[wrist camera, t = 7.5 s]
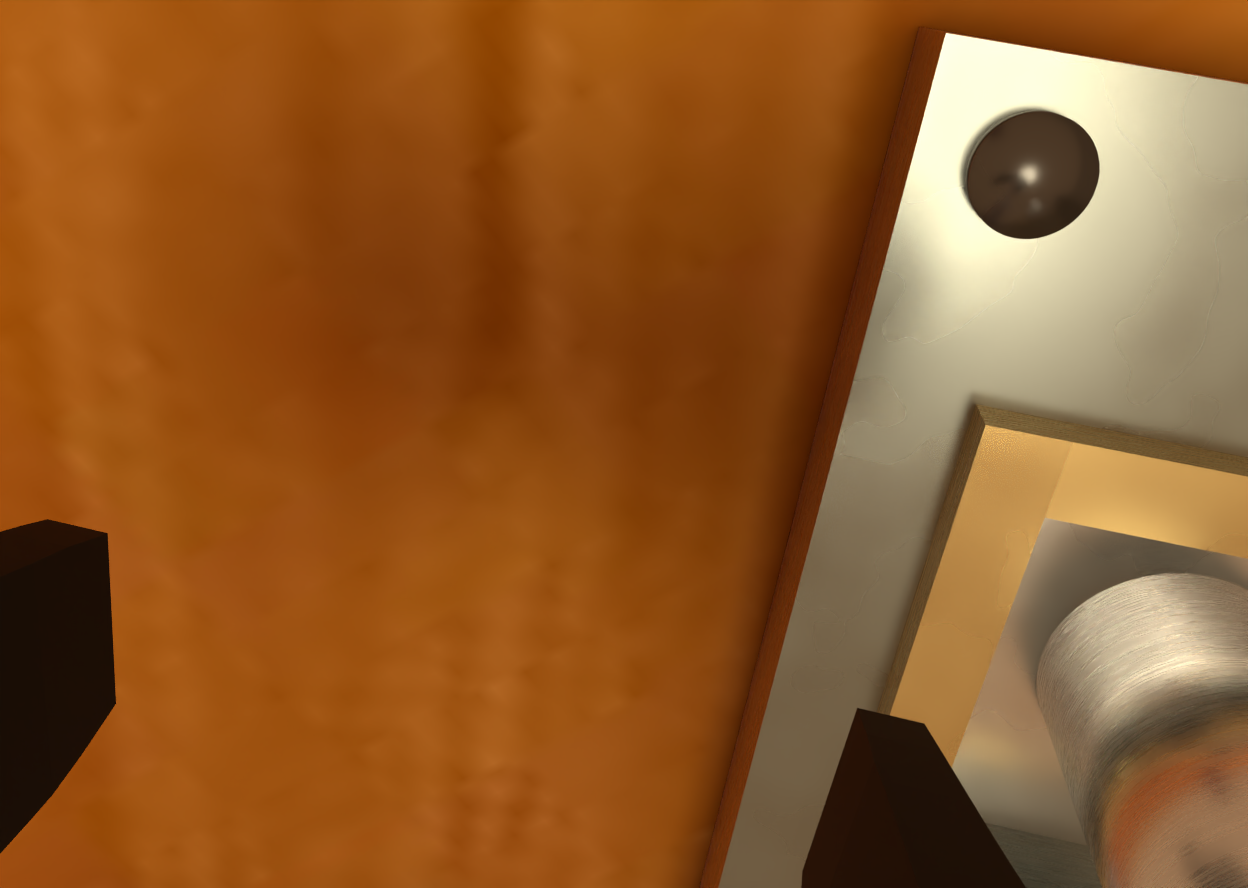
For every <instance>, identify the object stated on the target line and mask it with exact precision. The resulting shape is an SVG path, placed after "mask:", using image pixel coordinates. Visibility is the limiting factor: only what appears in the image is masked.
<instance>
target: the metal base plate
mask: <svg viewBox="0 0 1248 888" xmlns="http://www.w3.org/2000/svg"><path fill="white" fill-rule="evenodd" d="M1166 573H1189V574H1200V575H1207V576H1212V577H1216V578H1221V579H1224V580H1227V581H1230V582H1233V583H1236V584H1238V585H1240V586H1242V587H1244V588H1247V589H1248V83H1247V82H1241V81H1235V80H1229V79H1223V78H1217V77H1211V76H1206V75H1200V74H1194V73H1188V72H1182V71H1176V70H1170V69H1165V68H1159V67H1153V66H1147V65H1141V64H1135V63H1129V62H1124V61H1118V60H1112V59H1106V58H1100V57H1094V56H1088V55H1083V54H1077V53H1071V52H1065V51H1059V50H1053V49H1047V48H1041V47H1036V46H1030V45H1024V44H1018V43H1012V42H1006V41H1000V40H995V39H989V38H983V37H977V36H971V35H965V34H959V33H954V32H948V31H942V30H936V29H930V28H924V27H919V28H918V32H917V36H916V40H915V44H914V47H913V51H912V55H911V59H910V63H909V67H908V71H907V75H906V79H905V83H904V87H903V91H902V95H901V98H900V102H899V106H898V110H897V114H896V118H895V122H894V126H893V130H892V134H891V138H890V142H889V145H888V149H887V153H886V157H885V161H884V165H883V169H882V173H881V177H880V181H879V185H878V189H877V192H876V196H875V200H874V204H873V208H872V212H871V216H870V220H869V224H868V228H867V232H866V236H865V239H864V243H863V247H862V251H861V255H860V259H859V263H858V267H857V271H856V275H855V279H854V283H853V287H852V290H851V294H850V298H849V302H848V306H847V310H846V314H845V318H844V322H843V326H842V330H841V334H840V337H839V341H838V345H837V349H836V353H835V357H834V361H833V365H832V369H831V373H830V377H829V381H828V384H827V388H826V392H825V396H824V400H823V404H822V408H821V412H820V416H819V420H818V424H817V428H816V431H815V435H814V439H813V443H812V447H811V451H810V455H809V459H808V463H807V467H806V471H805V475H804V478H803V482H802V486H801V490H800V494H799V498H798V502H797V506H796V510H795V514H794V518H793V522H792V526H791V529H790V533H789V537H788V541H787V545H786V549H785V553H784V557H783V561H782V565H781V569H780V573H779V576H778V580H777V584H776V588H775V592H774V596H773V600H772V604H771V608H770V612H769V616H768V620H767V623H766V627H765V631H764V635H763V639H762V643H761V647H760V651H759V655H758V659H757V663H756V667H755V670H754V674H753V678H752V682H751V686H750V690H749V694H748V698H747V702H746V706H745V710H744V714H743V718H742V721H741V725H740V729H739V733H738V737H737V741H736V745H735V749H734V753H733V757H732V761H731V765H730V768H729V772H728V776H727V780H726V784H725V788H724V792H723V796H722V800H721V804H720V808H719V812H718V815H717V819H716V823H715V827H714V831H713V835H712V839H711V843H710V847H709V851H708V855H707V859H706V862H705V866H704V870H703V874H702V878H701V882H700V886H699V888H801V885H802V870H803V867H804V865H805V862H806V859H807V856H808V853H809V850H810V847H811V844H812V841H813V838H814V835H815V832H816V829H817V826H818V823H819V820H820V817H821V814H822V811H823V808H824V805H825V802H826V799H827V796H828V793H829V790H830V787H831V784H832V781H833V778H834V775H835V772H836V769H837V766H838V763H839V760H840V758H841V755H842V752H843V749H844V746H845V743H846V740H847V737H848V734H849V731H850V728H851V725H852V722H853V719H854V716H855V713H856V710H857V708H860V709H865V710H869V711H873V712H878V713H882V714H886V715H890V716H895V717H899V718H903V719H908V720H912V721H916V722H920V723H924V724H925V725H926V727H927V729H928V730H929V732H930V733H931V735H932V737H933V738H934V740H935V742H936V743H937V745H938V746H939V748H940V750H941V751H942V753H943V754H944V756H945V758H946V759H947V761H948V763H949V764H950V766H951V768H952V769H953V771H954V772H955V774H956V776H957V777H958V779H959V781H960V782H961V784H962V786H963V787H964V789H965V791H966V792H967V794H968V796H969V797H970V799H971V800H972V802H973V804H974V805H975V807H976V809H977V810H978V812H979V814H980V815H981V817H982V818H983V820H984V822H985V823H986V825H987V827H988V828H989V830H990V831H991V833H992V835H993V836H994V838H995V839H996V841H997V843H998V844H999V846H1000V847H1001V849H1002V851H1003V852H1004V854H1005V855H1006V857H1007V859H1008V860H1009V862H1010V863H1011V865H1012V866H1013V868H1014V870H1015V871H1016V873H1017V874H1018V876H1019V877H1020V879H1021V880H1022V882H1023V883H1024V885H1025V886H1026V888H1102V887H1101V884H1100V881H1099V878H1098V875H1097V872H1096V869H1095V866H1094V863H1093V861H1092V858H1091V855H1090V852H1089V849H1088V846H1087V843H1086V840H1085V837H1084V834H1083V831H1082V829H1081V826H1080V823H1079V820H1078V817H1077V814H1076V811H1075V808H1074V805H1073V802H1072V800H1071V797H1070V794H1069V791H1068V788H1067V785H1066V782H1065V779H1064V776H1063V773H1062V771H1061V768H1060V765H1059V762H1058V759H1057V756H1056V753H1055V750H1054V747H1053V744H1052V742H1051V739H1050V736H1049V733H1048V730H1047V727H1046V724H1045V721H1044V718H1043V715H1042V713H1041V709H1040V706H1039V702H1038V699H1037V690H1036V677H1037V669H1038V665H1039V660H1040V657H1041V655H1042V652H1043V650H1044V647H1045V645H1046V644H1047V642H1048V640H1049V638H1050V636H1051V635H1052V633H1053V632H1054V631H1055V629H1056V628H1057V627H1058V625H1059V624H1060V623H1061V622H1062V621H1063V620H1064V619H1065V618H1066V617H1067V616H1068V615H1069V614H1070V613H1071V612H1072V611H1073V610H1074V609H1076V608H1077V607H1078V606H1080V605H1081V604H1082V603H1083V602H1085V601H1086V600H1088V599H1090V598H1091V597H1093V596H1095V595H1096V594H1098V593H1100V592H1102V591H1104V590H1106V589H1108V588H1110V587H1112V586H1115V585H1118V584H1120V583H1123V582H1126V581H1129V580H1132V579H1137V578H1141V577H1145V576H1150V575H1158V574H1166Z"/></svg>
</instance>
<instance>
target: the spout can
mask: <svg viewBox="0 0 1248 888" xmlns="http://www.w3.org/2000/svg"><path fill="white" fill-rule="evenodd" d="M1036 690H1037V699H1038V702H1039V706H1040V709H1041V713H1042V715H1043V718H1044V721H1045V724H1046V727H1047V730H1048V733H1049V736H1050V739H1051V742H1052V744H1053V747H1054V750H1055V753H1056V756H1057V759H1058V762H1059V765H1060V768H1061V771H1062V773H1063V776H1064V779H1065V782H1066V785H1067V788H1068V791H1069V794H1070V797H1071V800H1072V802H1073V805H1074V808H1075V811H1076V814H1077V817H1078V820H1079V823H1080V826H1081V829H1082V831H1083V834H1084V837H1085V840H1086V843H1087V846H1088V849H1089V852H1090V855H1091V858H1092V861H1093V863H1094V866H1095V869H1096V872H1097V875H1098V878H1099V881H1100V884H1101V887H1102V888H1248V589H1247V588H1244V587H1242V586H1240V585H1238V584H1236V583H1233V582H1230V581H1227V580H1224V579H1221V578H1216V577H1212V576H1207V575H1200V574H1189V573H1166V574H1158V575H1150V576H1145V577H1141V578H1137V579H1132V580H1129V581H1126V582H1123V583H1120V584H1118V585H1115V586H1112V587H1110V588H1108V589H1106V590H1104V591H1102V592H1100V593H1098V594H1096V595H1095V596H1093V597H1091V598H1090V599H1088V600H1086V601H1085V602H1083V603H1082V604H1081V605H1080V606H1078V607H1077V608H1076V609H1074V610H1073V611H1072V612H1071V613H1070V614H1069V615H1068V616H1067V617H1066V618H1065V619H1064V620H1063V621H1062V622H1061V623H1060V624H1059V625H1058V627H1057V628H1056V629H1055V631H1054V632H1053V633H1052V635H1051V636H1050V638H1049V640H1048V642H1047V644H1046V645H1045V647H1044V650H1043V652H1042V655H1041V657H1040V660H1039V665H1038V669H1037V677H1036Z"/></svg>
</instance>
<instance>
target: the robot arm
mask: <svg viewBox="0 0 1248 888" xmlns="http://www.w3.org/2000/svg"><path fill="white" fill-rule="evenodd" d="M115 704H116V696H115V675H114V655H113V635H112V614H111V594H110V574H109V553H108V533H104V532H100V531H95V530H91V529H87V528H83V527H78V526H74V525H70V524H65V523H61V522H57V521H52V520H48V519H47V520H43V521H39V522H35V523H31V524H27V525H23V526H19V527H16V528H12V529H9V530H5V531H2V532H0V853H1V852H2V851H3V850H4V849H5V848H6V847H7V845H8V844H9V843H10V842H11V841H12V840H13V839H14V838H15V837H16V835H17V834H18V833H19V832H20V831H21V830H22V829H23V828H24V827H25V825H26V824H27V823H28V822H29V821H30V820H31V819H32V818H33V816H34V815H35V814H36V813H37V812H38V811H39V810H40V808H41V807H42V806H43V805H44V804H45V803H46V802H47V800H48V799H49V798H50V797H51V796H52V795H53V793H54V792H55V791H56V789H57V788H58V786H59V785H60V784H61V782H62V781H63V780H64V778H65V777H66V775H67V774H68V773H69V771H70V770H71V768H72V767H73V766H74V764H75V763H76V762H77V760H78V759H79V757H80V756H81V755H82V753H83V752H84V750H85V749H86V747H87V746H88V744H89V743H90V741H91V740H92V738H93V737H94V735H95V734H96V732H97V731H98V729H99V728H100V726H101V725H102V724H103V722H104V721H105V719H106V718H107V716H108V715H109V713H110V712H111V710H112V709H113V707H114V706H115ZM801 888H1026V886H1025V885H1024V883H1023V882H1022V880H1021V879H1020V877H1019V876H1018V874H1017V873H1016V871H1015V870H1014V868H1013V866H1012V865H1011V863H1010V862H1009V860H1008V859H1007V857H1006V855H1005V854H1004V852H1003V851H1002V849H1001V847H1000V846H999V844H998V843H997V841H996V839H995V838H994V836H993V835H992V833H991V831H990V830H989V828H988V827H987V825H986V823H985V822H984V820H983V818H982V817H981V815H980V814H979V812H978V810H977V809H976V807H975V805H974V804H973V802H972V800H971V799H970V797H969V796H968V794H967V792H966V791H965V789H964V787H963V786H962V784H961V782H960V781H959V779H958V777H957V776H956V774H955V772H954V771H953V769H952V768H951V766H950V764H949V763H948V761H947V759H946V758H945V756H944V754H943V753H942V751H941V750H940V748H939V746H938V745H937V743H936V742H935V740H934V738H933V737H932V735H931V733H930V732H929V730H928V729H927V727H926V725H925V724H924V723H920V722H916V721H912V720H908V719H903V718H899V717H895V716H890V715H886V714H882V713H878V712H873V711H869V710H865V709H860V708H857V710H856V713H855V716H854V719H853V722H852V725H851V728H850V731H849V734H848V737H847V740H846V743H845V746H844V749H843V752H842V755H841V758H840V760H839V763H838V766H837V769H836V772H835V775H834V778H833V781H832V784H831V787H830V790H829V793H828V796H827V799H826V802H825V805H824V808H823V811H822V814H821V817H820V820H819V823H818V826H817V829H816V832H815V835H814V838H813V841H812V844H811V847H810V850H809V853H808V856H807V859H806V862H805V865H804V867H803V870H802V885H801Z"/></svg>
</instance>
